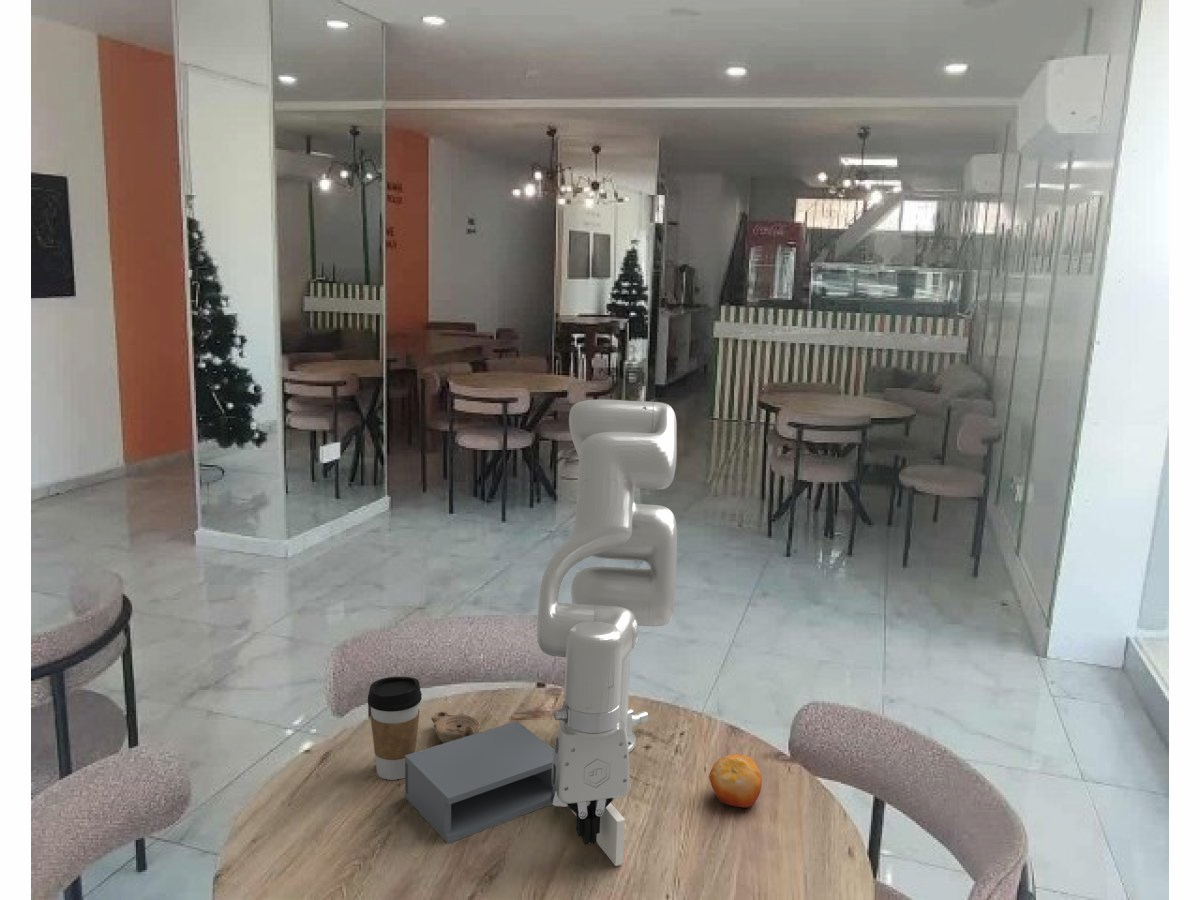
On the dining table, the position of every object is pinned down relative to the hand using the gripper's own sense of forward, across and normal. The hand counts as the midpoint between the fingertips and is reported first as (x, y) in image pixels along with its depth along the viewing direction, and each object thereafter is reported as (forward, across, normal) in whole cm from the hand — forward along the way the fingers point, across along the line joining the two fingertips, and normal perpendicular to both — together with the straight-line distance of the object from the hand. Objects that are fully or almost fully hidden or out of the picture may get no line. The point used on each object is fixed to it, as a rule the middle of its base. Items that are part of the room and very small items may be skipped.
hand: (587, 838), depth 125 cm
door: (+3, +3, +6) cm, 7 cm away
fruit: (+3, +27, +8) cm, 28 cm away
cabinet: (+3, -11, +18) cm, 21 cm away
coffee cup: (+3, -23, +30) cm, 38 cm away
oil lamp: (+3, -12, +37) cm, 39 cm away
